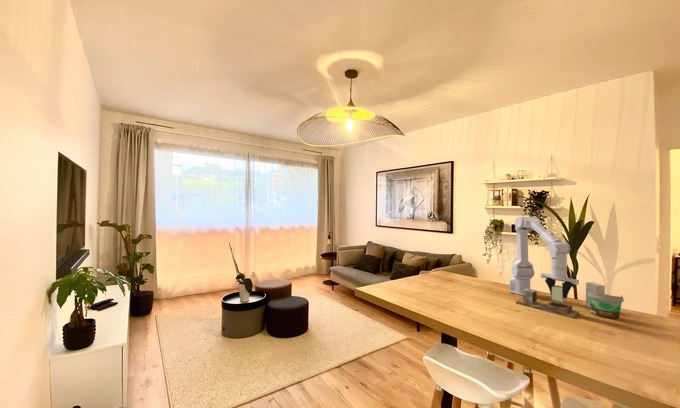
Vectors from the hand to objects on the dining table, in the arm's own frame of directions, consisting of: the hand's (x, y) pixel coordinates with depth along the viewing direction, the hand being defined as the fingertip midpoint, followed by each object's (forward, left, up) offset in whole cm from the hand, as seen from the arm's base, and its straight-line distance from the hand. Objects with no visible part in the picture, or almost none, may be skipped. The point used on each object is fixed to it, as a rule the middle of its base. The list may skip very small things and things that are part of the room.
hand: (558, 296), depth 130 cm
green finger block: (0, 0, -2) cm, 2 cm away
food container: (+15, +10, -7) cm, 19 cm away
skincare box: (+9, +20, -7) cm, 23 cm away
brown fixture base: (-5, 0, -7) cm, 9 cm away
